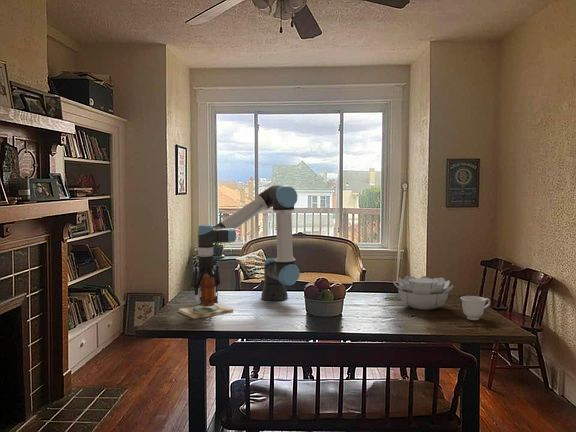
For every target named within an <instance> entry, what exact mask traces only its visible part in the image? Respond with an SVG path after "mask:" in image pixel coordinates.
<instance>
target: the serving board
mask: <svg viewBox="0 0 576 432" xmlns="http://www.w3.org/2000/svg"><path fill="white" fill-rule="evenodd" d="M178 313H180V314H182V315H185V316H187V317H190V318H192V319H194V320H196V319H200V318H207V317H214V316H218V315H224V314H230V313H234V308H231V307H228V306H226V305H223V304H220V303H214V305H213V306H207V307H205V306H202V304H199V305H195V306H189V307H183V308H182V307H181V308H178Z"/></svg>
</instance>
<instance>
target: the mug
mask: <svg viewBox="0 0 576 432" xmlns="http://www.w3.org/2000/svg"><path fill="white" fill-rule="evenodd" d="M214 278H215V277H209V275H208V274H204V276H203V278H202V280H201V281H202V283H200V285H199V287H200V292H201V291H202V296H201V295H200V303H201V302H202V304H201V305H202V306H205V307H207V306H213V305H214V302H215V301H216V300H217V299H216V297H215V296H214V287H215V286H216V284H215V283H214Z"/></svg>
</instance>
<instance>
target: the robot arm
mask: <svg viewBox="0 0 576 432" xmlns="http://www.w3.org/2000/svg"><path fill="white" fill-rule="evenodd" d="M255 196H256V198H254V199H253V200H251V201H250V202H249V203H247V204H246V205H244V206H243V207H241V208H239V209H238V210H236V211H235V212H234V213H232V214H231V215H230V216H228V217H226V218H225V219H223V220H222V221H220V222H219V223H217V224H216V225H213V224H200V225H198V228H197V242H198V243H197V244H198V247H197V250H198V251H197V253H198V257H197V260H198V262H197V264H198V265H197V267H193V268H192V276H191V278H192V279H191V283H190V287H191V288H193V289H194V295H195V301H196V302H199V303H201V301H200V297H201V287H200V284H201V281H202V278H203V276H204V274H209V275H208V277H209V276H210V277H214V275H213V272H212V271H214V274H215V277H214V283H215V284H216V286H215V287H214V296H215V297H216V296H217V293H216V292H217V286H218V287H219V285H221V280H220V279H221V278H220V272H219V268H220V267H219V265H216V264H215V265H214V256H213V255H214V244H227V243H228V244H230V243H234V242H236V240H237V231H236V229H238V228H239V227H240V226H242V225H244V224H245V223H246V222H248V221H249V220H251V219H252V218H254V217H255V216H257V215H259V213H261V212H263V211H267V210H269V209H270V208H271V209H272V211H273V213H275V226H276V227H275V231H276V232H275V233H276V258H266V259H265V260H264V263H263V267H264V268H263V269H264V270H263V271H264V273H263V274H264V276H263V277H264V281H263V283H264V285H263V288H262V292H261V294H260V295H261V299H262V300H264V301H268V302H270V301H271V302H280V301H286V300H287V299H289V296H288V291H287V288H286V286H292V285H294V284H295V283H296V282H297V281H298V280H299V278H300V273H301V272H300V269H299V267H298V266H297V262H296V261H297V259H296V258H295V257H294V251H293V249H294V248H293V218H292V217H293V216H292V213H293V212H294V211H295V205H296V203H297V201H298V194H297V190H296V189H295V188H294V187H292V186H291V185H287V184H281V185H280V184H279V185H278V184H275V185H271V186H269V187H267V188H265V190H263V191H262V192H260V193H259V194H257V195H255ZM201 273H202V274H201Z"/></svg>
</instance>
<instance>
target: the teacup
mask: <svg viewBox="0 0 576 432" xmlns="http://www.w3.org/2000/svg"><path fill="white" fill-rule="evenodd" d="M460 300H461V304H462V311H463V314H464V315H465V316H466V319H467V320H471V321H479V320H480V317H481V316H483V314H484V310H485V309H487V308H488V307H490V305H491V302H492V301H491V299H490V298H488V297H483V296H476V295H463V296H461V297H460ZM485 304H486V305H485Z"/></svg>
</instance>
